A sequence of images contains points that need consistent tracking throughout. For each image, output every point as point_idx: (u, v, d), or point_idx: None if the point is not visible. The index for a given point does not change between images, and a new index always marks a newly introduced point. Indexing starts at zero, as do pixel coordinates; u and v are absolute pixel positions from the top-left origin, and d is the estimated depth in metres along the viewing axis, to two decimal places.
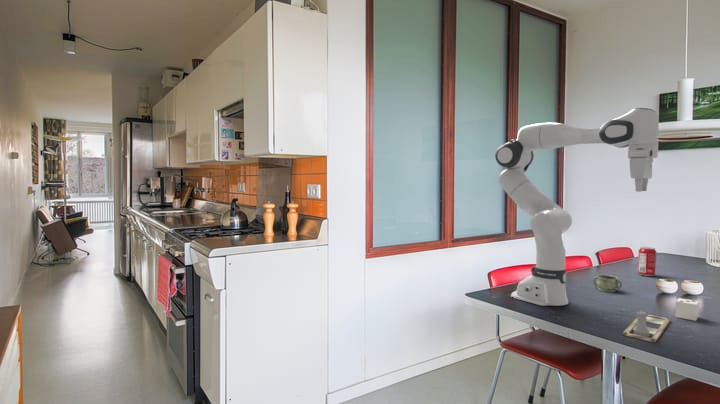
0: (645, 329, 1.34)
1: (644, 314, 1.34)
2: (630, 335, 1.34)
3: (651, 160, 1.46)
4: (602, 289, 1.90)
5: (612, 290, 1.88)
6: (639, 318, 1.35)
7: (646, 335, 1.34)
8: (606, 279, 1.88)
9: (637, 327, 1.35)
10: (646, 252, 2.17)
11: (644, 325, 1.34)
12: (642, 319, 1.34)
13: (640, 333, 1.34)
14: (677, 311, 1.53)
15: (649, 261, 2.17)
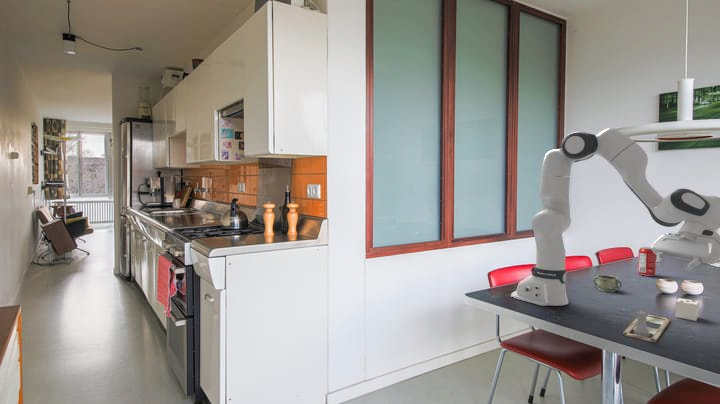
0: (645, 329, 1.34)
1: (644, 314, 1.34)
2: (630, 335, 1.34)
3: None
4: (602, 289, 1.90)
5: (612, 290, 1.88)
6: (639, 318, 1.35)
7: (646, 335, 1.34)
8: (606, 279, 1.88)
9: (637, 327, 1.35)
10: (646, 252, 2.17)
11: (644, 325, 1.34)
12: (642, 319, 1.34)
13: (640, 333, 1.34)
14: (677, 311, 1.53)
15: (649, 261, 2.17)
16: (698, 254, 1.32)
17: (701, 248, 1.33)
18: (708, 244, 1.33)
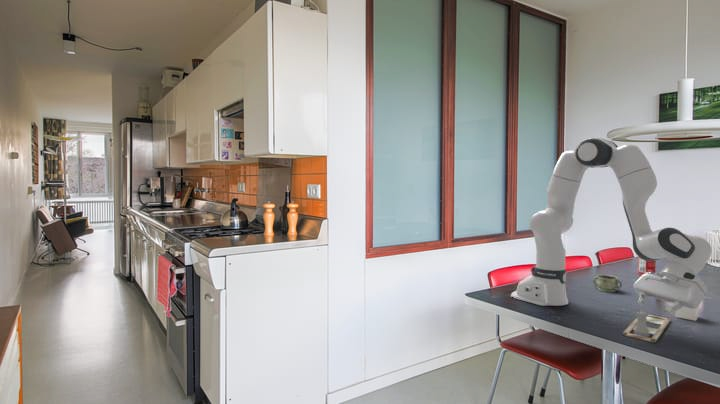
0: (645, 329, 1.34)
1: (644, 314, 1.34)
2: (630, 335, 1.34)
3: None
4: (602, 289, 1.90)
5: (612, 290, 1.88)
6: (639, 318, 1.35)
7: (646, 335, 1.34)
8: (606, 279, 1.88)
9: (637, 327, 1.35)
10: None
11: (644, 325, 1.34)
12: (642, 319, 1.34)
13: (640, 333, 1.34)
14: (677, 311, 1.53)
15: (649, 261, 2.17)
16: (679, 298, 1.31)
17: (682, 292, 1.31)
18: (689, 288, 1.31)
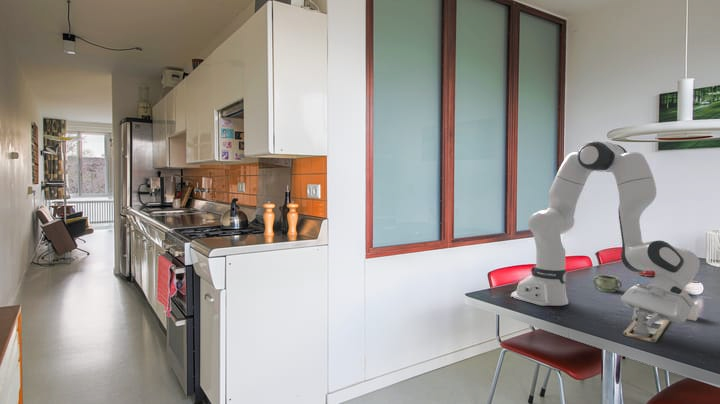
0: (645, 329, 1.34)
1: (644, 314, 1.34)
2: (630, 335, 1.34)
3: None
4: (602, 289, 1.90)
5: (612, 290, 1.88)
6: (639, 318, 1.35)
7: (646, 335, 1.34)
8: (606, 279, 1.88)
9: (637, 327, 1.35)
10: None
11: (644, 325, 1.34)
12: (642, 319, 1.34)
13: (640, 333, 1.34)
14: None
15: None
16: (665, 313, 1.30)
17: (669, 307, 1.30)
18: (676, 302, 1.30)
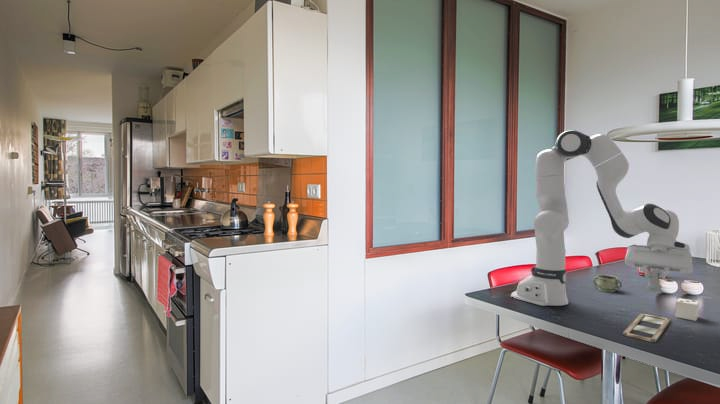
0: (659, 284, 1.47)
1: (659, 270, 1.47)
2: (630, 335, 1.34)
3: None
4: (602, 289, 1.90)
5: (612, 290, 1.88)
6: (654, 274, 1.47)
7: (660, 289, 1.47)
8: (606, 279, 1.88)
9: (653, 283, 1.47)
10: None
11: (658, 280, 1.47)
12: (657, 275, 1.47)
13: (657, 288, 1.46)
14: (677, 311, 1.53)
15: None
16: (678, 265, 1.44)
17: (678, 260, 1.46)
18: (682, 255, 1.46)
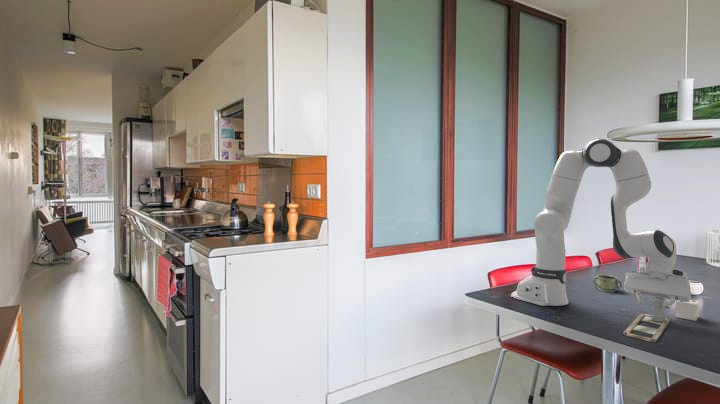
0: None
1: (660, 300, 1.47)
2: (630, 335, 1.34)
3: None
4: (602, 289, 1.90)
5: (612, 290, 1.88)
6: (656, 304, 1.48)
7: (665, 319, 1.47)
8: (606, 279, 1.88)
9: (656, 313, 1.47)
10: None
11: (661, 310, 1.47)
12: (659, 305, 1.47)
13: (661, 318, 1.46)
14: (677, 311, 1.53)
15: None
16: (677, 294, 1.46)
17: (677, 288, 1.47)
18: (680, 283, 1.48)
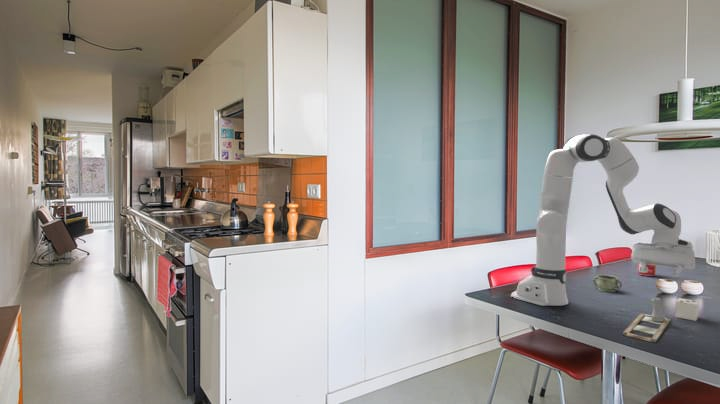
0: None
1: (660, 300, 1.47)
2: (630, 335, 1.34)
3: None
4: (602, 289, 1.90)
5: (612, 290, 1.88)
6: (656, 304, 1.48)
7: (665, 319, 1.47)
8: (606, 279, 1.88)
9: (656, 313, 1.47)
10: None
11: (661, 310, 1.47)
12: (659, 305, 1.47)
13: (661, 318, 1.46)
14: (677, 311, 1.53)
15: None
16: (682, 262, 1.54)
17: (682, 257, 1.56)
18: (685, 252, 1.56)
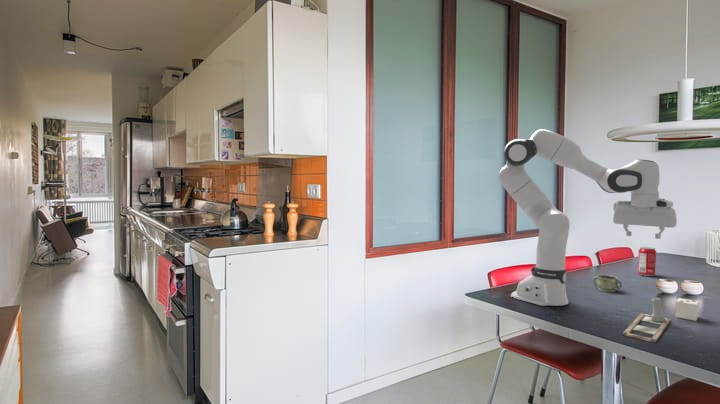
0: None
1: (660, 300, 1.47)
2: (630, 335, 1.34)
3: None
4: (602, 289, 1.90)
5: (612, 290, 1.88)
6: (656, 304, 1.48)
7: (665, 319, 1.47)
8: (606, 279, 1.88)
9: (656, 313, 1.47)
10: (646, 252, 2.17)
11: (661, 310, 1.47)
12: (659, 305, 1.47)
13: (661, 318, 1.46)
14: (677, 311, 1.53)
15: (649, 261, 2.17)
16: (662, 225, 1.53)
17: (662, 219, 1.53)
18: (665, 213, 1.53)
